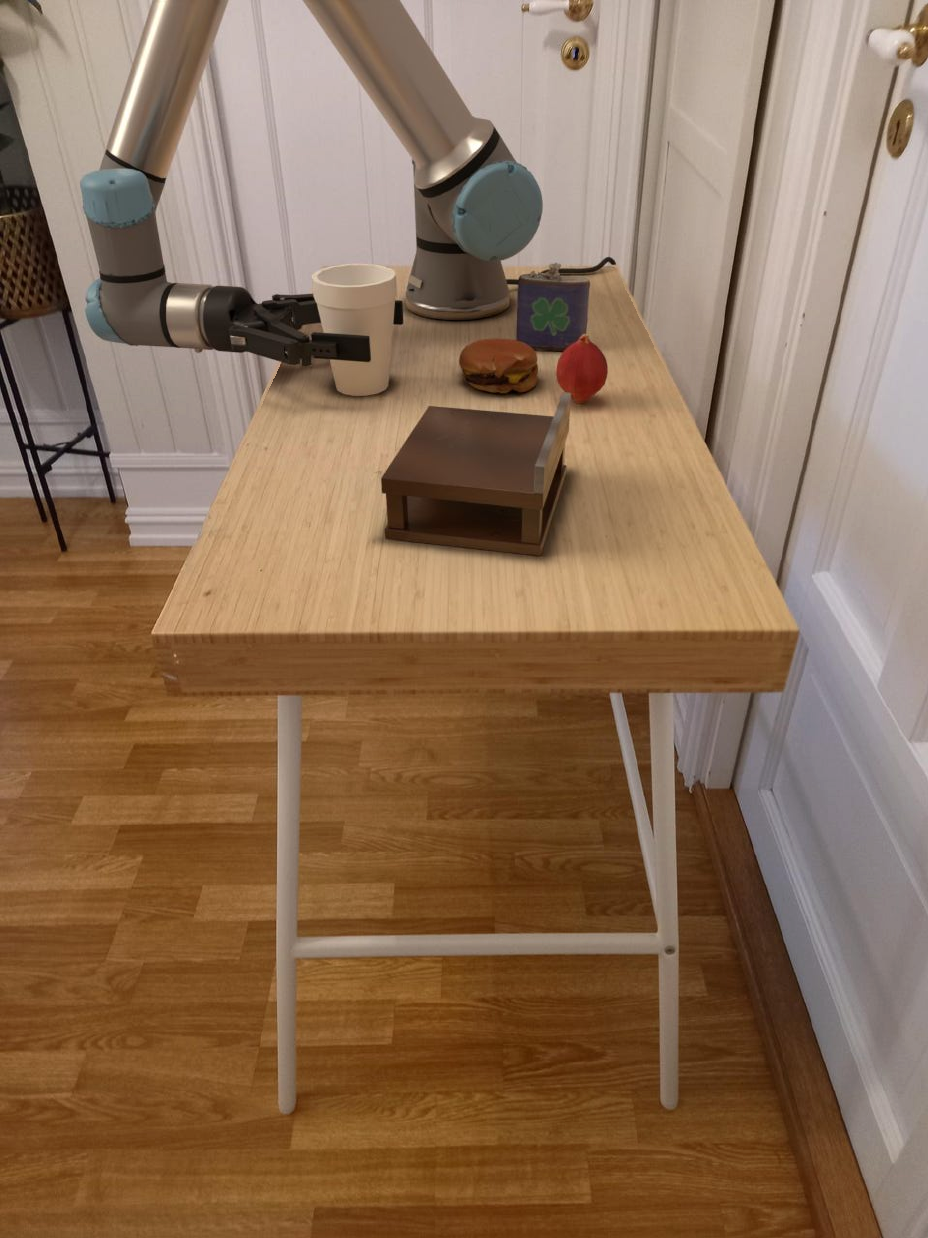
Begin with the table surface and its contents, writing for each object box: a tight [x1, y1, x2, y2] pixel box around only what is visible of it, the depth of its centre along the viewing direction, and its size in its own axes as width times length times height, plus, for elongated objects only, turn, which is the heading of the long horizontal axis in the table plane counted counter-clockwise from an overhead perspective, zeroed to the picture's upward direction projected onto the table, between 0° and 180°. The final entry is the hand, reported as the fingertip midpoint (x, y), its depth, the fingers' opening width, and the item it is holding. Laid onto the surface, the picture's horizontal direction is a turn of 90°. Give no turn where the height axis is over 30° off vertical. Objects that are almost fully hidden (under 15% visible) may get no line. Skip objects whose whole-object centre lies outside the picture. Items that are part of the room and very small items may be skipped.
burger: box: [458, 337, 539, 395], centre depth 112 cm, size 10×9×5 cm
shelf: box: [380, 391, 572, 557], centre depth 86 cm, size 16×14×8 cm
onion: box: [555, 333, 609, 404], centre depth 105 cm, size 6×6×8 cm
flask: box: [515, 262, 591, 352], centre depth 120 cm, size 9×3×11 cm, turn 77°
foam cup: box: [311, 263, 398, 397], centre depth 109 cm, size 10×9×13 cm
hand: (386, 330), depth 108 cm, fingers open, 12 cm apart
